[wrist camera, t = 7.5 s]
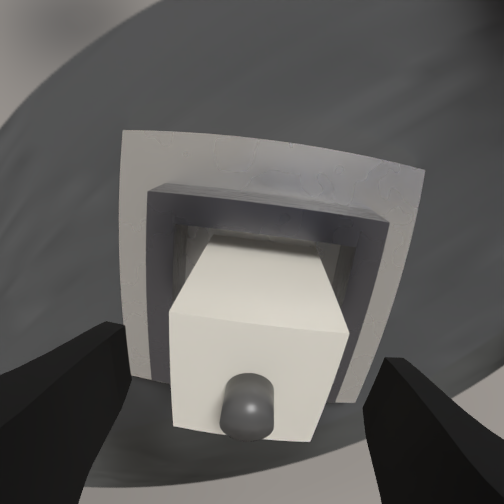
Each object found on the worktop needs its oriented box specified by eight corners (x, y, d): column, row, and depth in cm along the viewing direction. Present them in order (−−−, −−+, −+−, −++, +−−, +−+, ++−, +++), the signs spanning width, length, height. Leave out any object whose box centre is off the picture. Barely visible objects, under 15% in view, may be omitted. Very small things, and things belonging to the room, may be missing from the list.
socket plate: (414, 167, 12) (449, 176, 9) (351, 390, 16) (362, 429, 13) (132, 130, 12) (98, 129, 9) (135, 363, 16) (116, 399, 13)
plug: (315, 247, 12) (361, 366, 6) (297, 333, 14) (312, 473, 7) (213, 234, 12) (152, 342, 6) (206, 322, 14) (163, 456, 7)
